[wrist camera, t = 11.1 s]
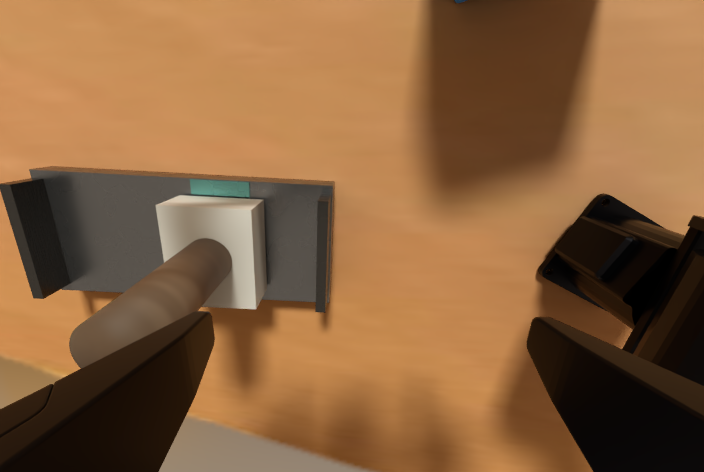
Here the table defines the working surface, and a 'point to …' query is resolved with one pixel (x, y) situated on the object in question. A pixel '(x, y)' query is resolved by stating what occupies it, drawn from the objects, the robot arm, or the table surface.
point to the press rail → (143, 230)
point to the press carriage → (185, 273)
